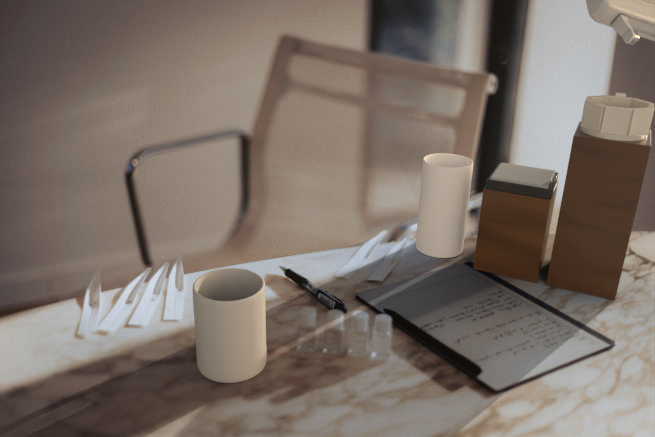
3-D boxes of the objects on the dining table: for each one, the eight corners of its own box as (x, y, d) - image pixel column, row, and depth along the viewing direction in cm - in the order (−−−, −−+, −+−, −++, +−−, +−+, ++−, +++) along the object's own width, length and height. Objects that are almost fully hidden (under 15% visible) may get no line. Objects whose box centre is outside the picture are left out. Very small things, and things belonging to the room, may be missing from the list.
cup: (437, 262, 104) (447, 171, 97) (405, 244, 110) (412, 157, 104) (472, 251, 108) (484, 163, 102) (440, 234, 114) (449, 150, 108)
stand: (486, 245, 110) (504, 112, 101) (617, 272, 102) (650, 129, 93) (472, 269, 102) (491, 125, 92) (614, 300, 93) (651, 146, 84)
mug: (277, 373, 75) (276, 293, 71) (207, 391, 72) (202, 309, 67) (245, 323, 85) (242, 251, 81) (182, 337, 82) (177, 262, 77)
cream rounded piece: (589, 106, 106) (594, 80, 105) (647, 112, 103) (653, 85, 101) (577, 135, 88) (583, 104, 86) (647, 144, 85) (655, 112, 83)
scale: (497, 170, 105) (499, 160, 104) (557, 180, 101) (559, 169, 100) (485, 188, 96) (486, 177, 96) (549, 199, 93) (551, 188, 92)
